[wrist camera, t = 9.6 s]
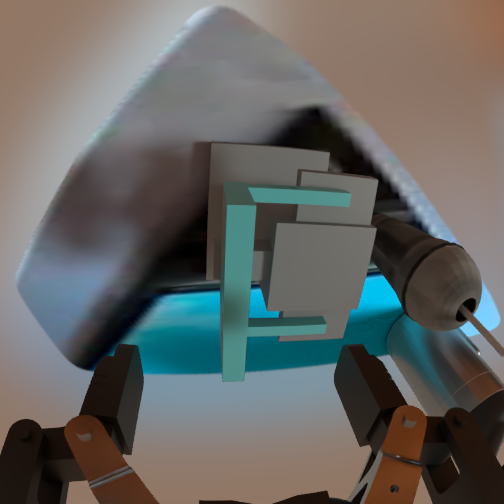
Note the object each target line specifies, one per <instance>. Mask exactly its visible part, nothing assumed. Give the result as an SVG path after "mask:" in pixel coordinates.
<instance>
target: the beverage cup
mask: <svg viewBox="0 0 504 504" xmlns="http://www.w3.org/2000/svg"><path fill="white" fill-rule="evenodd" d="M371 224H372V225H373V226H375V227H376V228H377V230H376V235H375V240H374V244H373V249H372V253H371V259H372V261H373V262H374V263H375V265H376V266H377V267H378V269H379V270H380V272H381V273H382V274H383V276H384V277H385V278H386V280H387V281H388V283H389V284H390V285H391V287H392V288H393V290H394V291H395V292H396V294H397V297H398V299H399V301H400V303H401V305H402V307H403V310H404V312H405V314H406V315H407V316H408V317H409V318H410V319H411V320H413V321H415V322H417V323H418V324H419V325H420V326H422V327H423V328H426V329H428V330H433V331H438V332H446V331H451V330H454V329H457V328H459V327H461V326H463V325H464V324H465V323H466V322H467V321H470V322H471V323H472V325H473V326H474V327H475V328H476V329H477V330H478V331H479V332H480V333H481V334H482V335H483V336H484V337H485V338H486V340H487V341H488V342H489V343H490V344H491V345H492V346H493V347H494V349H495V350H496V351H497V352H498V353H499V354H500V355H501V357H504V348H503V347H502V346H501V344H500V343H499V342H498V341H497V340H496V339H495V338H494V337H493V336H492V335H491V334H490V332H489V331H488V330H487V329H486V328H485V327H484V326H483V325H482V324H481V323H480V322H479V321H478V320H477V319H476V318H475V317H474V316H473V315H474V313H475V312H476V310H477V308H478V306H479V303H480V300H481V294H482V281H481V275H480V272H479V269H478V267H477V266H476V264H475V262H474V261H473V259H472V258H471V257H470V255H469V254H468V253H466V251H465V250H464V248H463V247H462V246H460V245H458V244H456V243H450V242H448V241H445V240H442V239H439V238H434V237H432V236H430V235H428V234H426V233H424V232H422V231H420V230H418V229H416V228H414V227H412V226H410V225H408V224H406V223H404V222H402V221H400V220H398V219H395V218H393V217H389V216H387V215H385V214H377V215H373V216H372V219H371Z"/></svg>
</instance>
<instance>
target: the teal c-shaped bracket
mask: <svg viewBox="0 0 504 504" xmlns="http://www.w3.org/2000/svg"><path fill="white" fill-rule="evenodd" d="M350 200H351V193H349V192H348V191H346V190H342V189H330V188H316V187H302V186H285V185H265V184H246V183H245V182H232V181H224V186H223V211H222V241H221V279H220V348H221V366H222V379H223V382H224V381H244V374H245V360H246V346H247V337H257V336H288V335H309V334H325V331H326V327H327V323H326V321H325V319H324V317H323V316H315V317H287V318H249V303H250V289H251V275H252V261H253V247H254V233H255V219H256V204H255V202H262V203H287V204H307V205H325V206H341V207H350Z"/></svg>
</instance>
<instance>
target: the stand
mask: <svg viewBox="0 0 504 504" xmlns="http://www.w3.org/2000/svg"><path fill="white" fill-rule="evenodd" d="M329 154H330V153H329V152H326V151H321V150H312V149H303V148H293V147H283V146H271V145H258V144H242V143H223V142H211V157H210V177H209V200H208V229H207V272H206V280H219V281H220V279H221V241H222V211H223V186H224V181H232V182H245V183H246V184H265V185H285V186H302V187H316V188H330V189H342V190H346V191H348V192H349V193H351V200H350V207H341V206H325V205H307V204H287V203H262V202H255V204H256V219H255V233H254V247H253V261H252V275H251V281H259V283H260V287H261V291H262V294H263V298H264V302H265V305H266V309H267V311H280V313H279V318H287V317H315V316H323V317H324V319H325V321H326V323H327V327H326V331H325V334H309V335H288V336H277V337H278V340H279V341H303V340H323V339H339V338H343V336H344V332H345V329H346V325H347V321H348V318H349V314H350V310H351V309H358V305H359V302H360V298H361V294H362V290H363V286H364V282H365V278H366V274H367V270H368V266H369V262H370V258H371V253H372V249H373V244H374V240H375V235H376V230H377V228H376V227H375V226H373V225H372V224H371V219H372V213H373V208H374V202H375V197H376V191H377V185H378V180H377V179H375V178H373V177H369V176H361V175H353V174H345V173H336V172H327V171H328V163H329Z"/></svg>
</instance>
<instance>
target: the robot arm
mask: <svg viewBox="0 0 504 504" xmlns="http://www.w3.org/2000/svg"><path fill="white" fill-rule="evenodd" d="M386 349H387V351H388V353H389V354H390V356H391V357H392V359H393V361H394V362H395V364H396V365H397V367H398V368H399V370H400V372H401V373H402V375H403V376H404V378H405V380H406V381H407V383H408V384H409V386H410V388H411V389H412V391H413V392H414V394H415V395H416V397H417V399H418V401H419V402H420V404H421V405H422V407H423V409H424V410H425V412H426V414H427V415H428V416H425V414H424V413H423V411H421V410H420V409H419V408H417V407H415V406H410V405H408V404H407V403H406V401H405V399H404V397H403V396H402V394H401V392H400V391H399V389H398V387H397V386H396V384H395V382H394V381H393V380H392V377H391V375H390V374H389V373H388V370H387V369H386V368H385V366H384V364H383V362H382V361H380V360H379V359H378V358H377V357H376V356H374V355H369V354H368V352H367V350H366V349H365V347H364V346H363V345H362V344H353V345H344V346H343V347H342V350H341V353H340V356H339V360H338V363H337V366H336V369H335V373H334V384H335V387H336V389H337V392H338V394H339V397H340V399H341V402H342V404H343V407H344V409H345V411H346V414H347V416H348V419H349V421H350V424H351V426H352V428H353V431H354V434H355V436H356V439H357V441H358V444H359V446H360V447H361V446H366V445H370V447H371V449H372V450H371V451H370V453H369V455H368V458H367V460H366V463H365V465H364V468H363V470H362V472H361V474H360V477H359V479H358V481H357V483H356V486H355V488H354V489H353V491H352V493H351V494H350V496H349V498H348V499H347V500H342V499H339V498H329V495H328V492H327V491H322V492H316V493H309V494H302V495H297V496H294V497H291V498H288V499H285V500H282V501H279V502H276V503H273V504H413V501H414V498H415V494H416V491H417V488H418V484H419V480H420V476H421V475H422V478H423V480H424V482H425V485H426V487H427V490H428V492H429V495H430V498H431V500H432V503H433V504H504V465H503V466H502V467H501V465H500V463H499V462H498V460H497V458H496V456H497V453H498V451H499V449H500V447H501V445H502V443H503V441H504V383H503V382H502V381H501V379H500V378H499V377H498V376H497V375H496V374H495V372H494V371H493V370H492V369H491V368H490V367H489V365H488V364H487V363H486V362H485V361H484V360H483V358H482V357H481V356H480V350H479V349H478V348H477V347H476V345H475V344H474V343H473V342H472V341H471V340H470V339H469V338H468V337H467V336H466V335H465V334H464V332H463V331H462V330H461V329H460V328H457V329H454V330H451V331H446V332H438V331H433V330H428V329H426V328H423V327H422V326H420V325H419V324H418V323H417V322H415V321H413V320H411V319H410V318H409V317H408V316H407V315H406V314H405V313H404V314H403V315H402V316H401V317H400V318H399V319H398V320H397V321H396V322H395V323H394V325H393V326H392V328H391V329H390V331H389V333H388V335H387V339H386ZM143 380H144V377H143V370H142V365H141V359H140V354H139V348H138V346H137V345H128V344H118V345H117V348H116V351H115V354H114V356H105V357H104V358H103V359H102V360H101V361H100V362H99V363H98V364H97V366H96V369H95V371H94V374H93V377H92V380H91V384H90V385H89V388H88V391H87V393H86V396H85V399H84V402H83V405H82V408H81V411H80V413H79V416H76V417H74V418H72V419H71V420H70V421H69V422H68V423H67V424H66V426H64V427H59V428H48V429H47V428H46V429H42V428H41V427H40V425H39V424H38V423H37V422H35V421H33V420H29V419H22V420H19V421H17V422H15V423H14V424H13V425H12V426H11V427H10V429H9V431H8V434H7V437H6V440H5V443H4V446H3V449H2V451H1V455H0V504H66V499H67V492H68V486H69V482H72V481H84V480H87V481H88V483H89V487H90V488H91V490H92V492H93V494H94V496H95V497H96V499H97V501H98V502H99V504H159V502H158V501H157V500H156V499H155V497H154V496H153V495H152V494H151V493H150V491H149V490H148V488H147V487H146V486H145V485H144V483H143V482H142V481H141V479H140V478H139V476H138V475H137V474H136V473H135V471H134V470H133V469H132V468H131V467H129V465H128V464H127V463H126V461H125V460H124V458H123V457H122V455H123V454H126V455H131V454H132V448H133V441H134V435H135V429H136V423H137V418H138V412H139V407H140V401H141V396H142V391H143V383H144V381H143ZM450 456H452V457H453V459H454V461H455V463H456V465H457V467H458V469H459V472H460V475H459V473H458V471H457V469H456V467H455V465H454V463H453V461H452V459H451V457H450ZM199 504H250V503H244V502H238V501H232V500H230V501H229V500H228V501H202V500H200V501H199Z"/></svg>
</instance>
